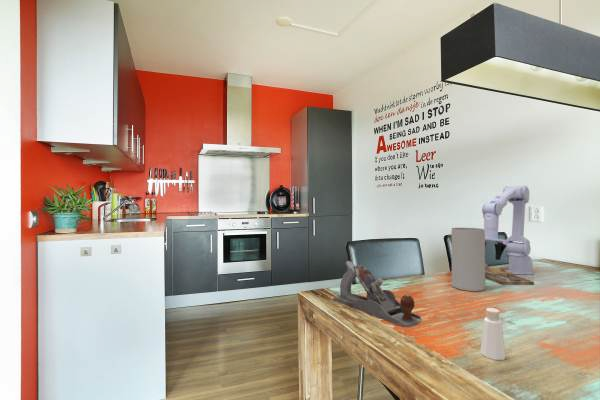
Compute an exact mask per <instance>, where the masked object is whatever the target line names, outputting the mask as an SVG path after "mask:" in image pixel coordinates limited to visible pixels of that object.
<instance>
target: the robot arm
mask: <svg viewBox="0 0 600 400" xmlns="http://www.w3.org/2000/svg"><path fill="white" fill-rule="evenodd" d="M529 202H530V189H529V187H528V185H521V186H520V185H519V186H512V185H511V186H507V185H506V186H505V187H503V189H502V193H501V195H495V197H494V198H493V199H492V200H491V201H489V202H486V203H484V204H483V205H482V207H481V212H482V217H483V229H485V247H486V245H487V243H490V244H491V243H492V244H493V245H494V250H495V260H496V261H501V257H502V255H503V253H504V251H505V253H506V255H508V269H505V270H504V272H512V275H515V276H518V275H534V274H535V273H534V272H533V259H532V257H531V256H530V254H531V242H530V240H529V239H528V238H526V236H524V232H525V230H524V229H525V216H526V215H525V214H526V204H528V203H529ZM508 203H509V204H512V206H513V209H512V225H511V226H512V227H511V235H510V236H509V237H507V238H506V239H502V238H501V239H500V238H499V223H500V222H499V217H500V216H501V215H502V212H503V210H504V208H505V206H507V205H508Z"/></svg>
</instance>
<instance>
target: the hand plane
mask: <svg viewBox="0 0 600 400" xmlns="http://www.w3.org/2000/svg"><path fill="white" fill-rule="evenodd" d="M345 265H346V269H347V270H346V271H345V273H344V274H343V276H342V278H341V280H340V285H339V294H340V296H337V297H335V296H334V297H333V299H332V301H334V302H336V301H337V303H338V304H339V303H340V304H342V305H344V306H347V307H350V308H352V309H355V310H357V311H360V312H361V313H365V314H368V315H370V316H373V317H375V318H378V319H380V320H383V321H385V322H388V323H392V324H393V325H397V326H399V327H402V328H409V327H410V328H411V327H414V326H418V324H421V322H423V321H422V317H421V315H419V314H417V313H415V312H412V311H413V310H414V308H415V300H414V298H413V296H411V295H409V294H405V295H402V296H401V298H400V301H399V300H397V299H396V295H395V293H394V292H392V291H391V290H389V289H382V287H381V286H382V284H383V283H384V280H383V278H381V277H379V278H375V277H374V275H373V274H372V272H371V271H370V270H369V269H368V268H367V267H366V266H365V265H364V264H359V265H355V264H354V263H353V262H352V261H350V260H346V262H345ZM356 278H357V279H358V281H359V283H360V284H361V286H362V287H363V290H365V292H366V296H362V295H360V294H355V293H352V285H353V282H354V281H355V279H356Z"/></svg>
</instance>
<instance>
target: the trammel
mask: <svg viewBox="0 0 600 400" xmlns="http://www.w3.org/2000/svg"><path fill="white" fill-rule="evenodd" d="M489 271H490V267H488V263H485V273H486V274H488V275H491V276H493V277H496V278H498V279H501V280H503V281H506V282H509V279H508V278H505V277H502V276H500V275H497V274H492V273H490V272H489Z"/></svg>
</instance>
